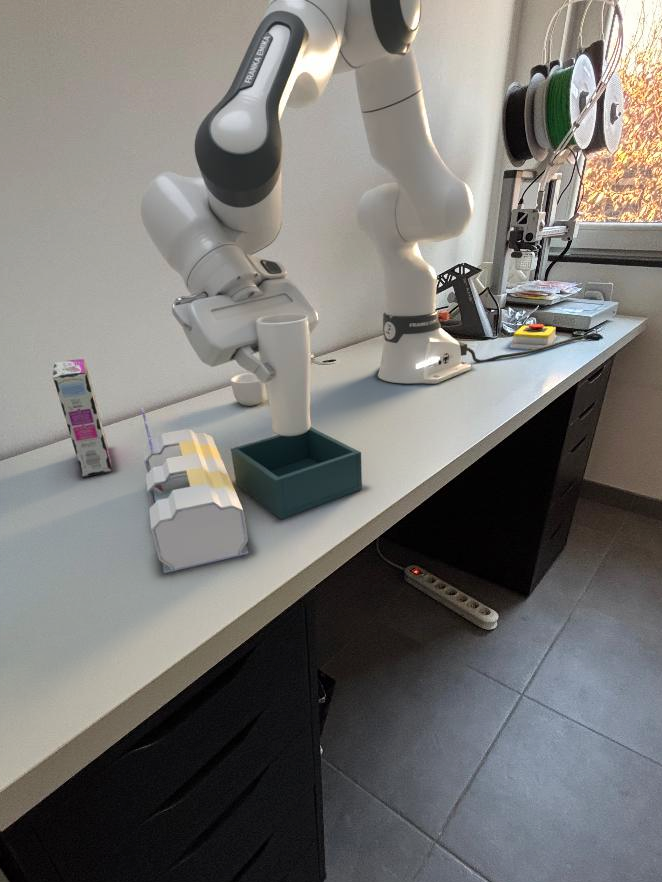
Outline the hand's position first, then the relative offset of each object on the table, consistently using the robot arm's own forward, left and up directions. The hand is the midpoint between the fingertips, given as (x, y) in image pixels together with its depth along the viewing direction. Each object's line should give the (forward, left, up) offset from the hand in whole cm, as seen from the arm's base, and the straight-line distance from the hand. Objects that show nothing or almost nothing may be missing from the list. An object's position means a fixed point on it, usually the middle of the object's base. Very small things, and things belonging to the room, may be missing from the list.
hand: (290, 371), depth 69 cm
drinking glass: (0, -1, -9) cm, 9 cm away
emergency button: (-95, -33, -17) cm, 102 cm away
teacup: (-14, -42, -17) cm, 47 cm away
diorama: (+16, -3, -17) cm, 23 cm away
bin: (0, -1, -17) cm, 17 cm away
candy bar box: (+22, -31, -17) cm, 42 cm away
